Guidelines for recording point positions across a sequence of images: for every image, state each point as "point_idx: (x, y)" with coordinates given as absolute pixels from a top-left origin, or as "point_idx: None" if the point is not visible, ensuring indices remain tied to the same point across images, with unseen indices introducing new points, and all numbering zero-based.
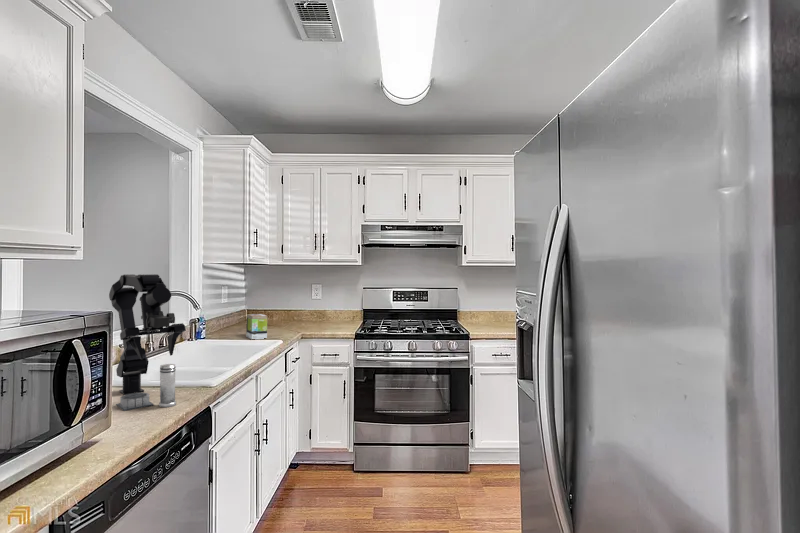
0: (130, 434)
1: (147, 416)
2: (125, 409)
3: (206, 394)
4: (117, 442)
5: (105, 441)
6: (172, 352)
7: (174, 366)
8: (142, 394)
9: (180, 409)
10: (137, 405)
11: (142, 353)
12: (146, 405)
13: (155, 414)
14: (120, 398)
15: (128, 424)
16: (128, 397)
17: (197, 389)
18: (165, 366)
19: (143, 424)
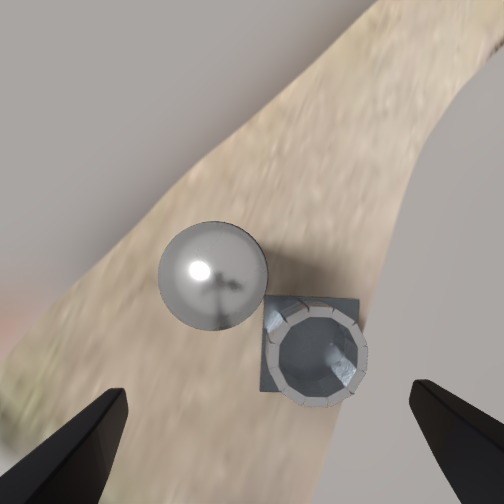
0: (417, 45)
1: (324, 182)
2: (354, 299)
3: (62, 306)
4: (461, 6)
5: (480, 38)
6: (95, 404)
7: (179, 236)
8: (282, 375)
9: (218, 180)
10: (317, 302)
11: (465, 419)
12: (288, 296)
13: (298, 185)
14: (365, 367)
15: (391, 142)
16: (326, 390)
17: (51, 408)
18: (244, 243)
19: (361, 109)
